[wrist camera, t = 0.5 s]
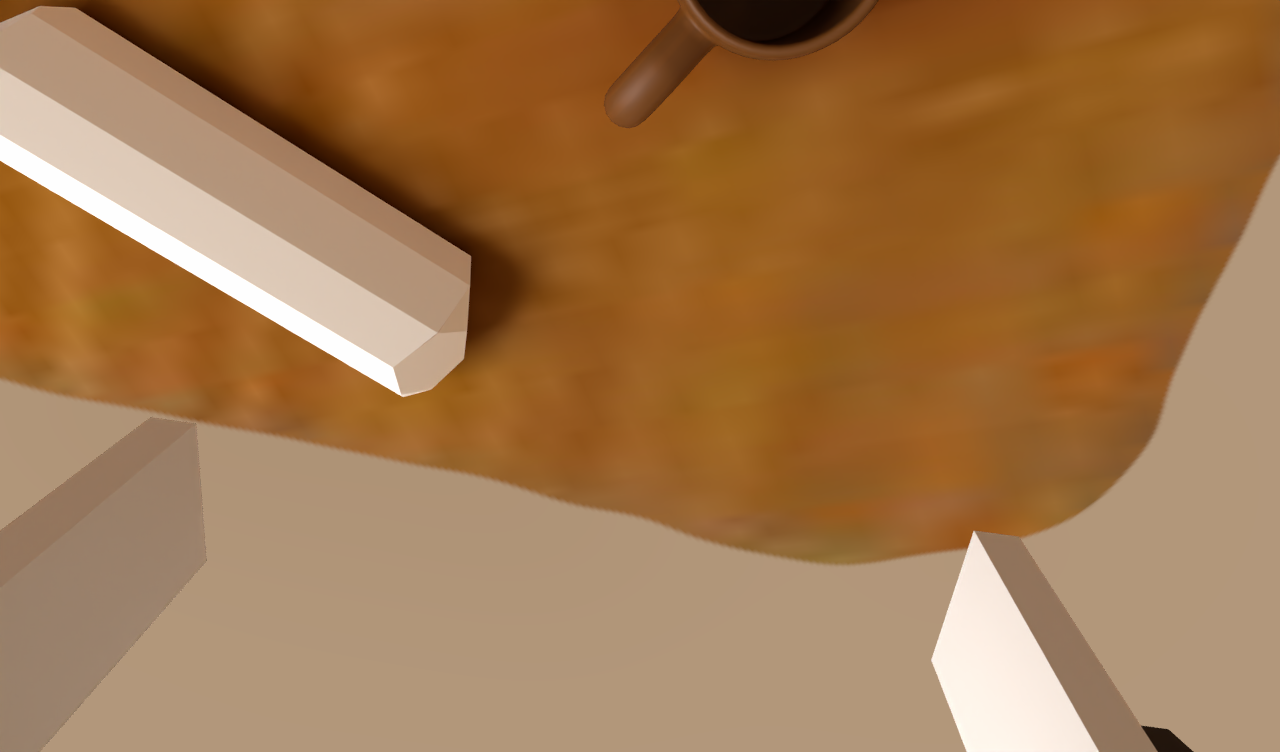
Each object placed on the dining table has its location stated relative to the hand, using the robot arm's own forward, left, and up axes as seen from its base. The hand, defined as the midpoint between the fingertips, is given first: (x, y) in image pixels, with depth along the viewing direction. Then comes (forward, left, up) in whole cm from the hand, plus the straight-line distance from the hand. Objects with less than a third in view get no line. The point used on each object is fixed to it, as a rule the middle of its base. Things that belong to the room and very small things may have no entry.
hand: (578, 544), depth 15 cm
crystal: (+1, -18, -28) cm, 33 cm away
